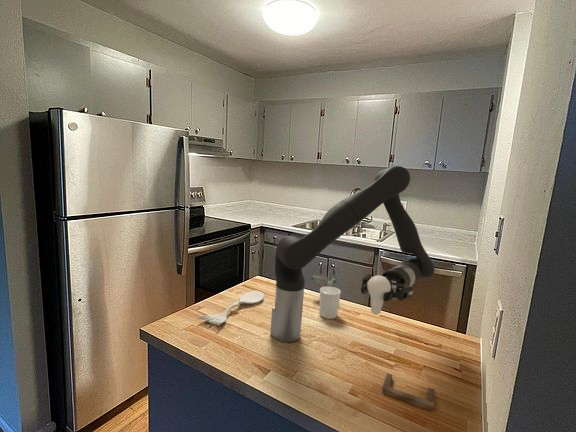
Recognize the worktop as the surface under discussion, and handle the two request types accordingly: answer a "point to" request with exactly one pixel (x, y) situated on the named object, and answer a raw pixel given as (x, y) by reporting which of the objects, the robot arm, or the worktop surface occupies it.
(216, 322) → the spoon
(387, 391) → the walnut holder
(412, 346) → the worktop surface
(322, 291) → the white cup
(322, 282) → the mechanical component
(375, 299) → the lightbulb
